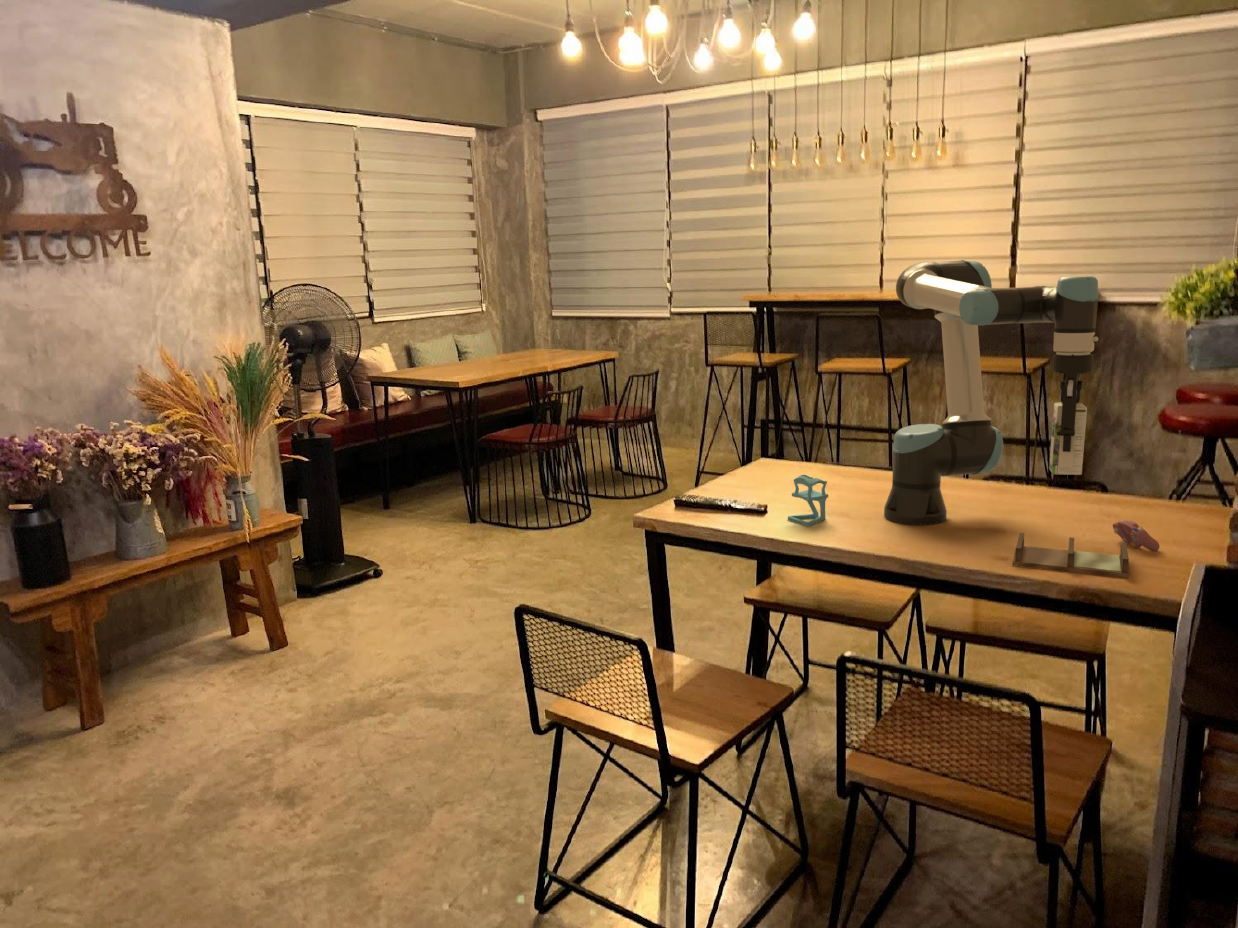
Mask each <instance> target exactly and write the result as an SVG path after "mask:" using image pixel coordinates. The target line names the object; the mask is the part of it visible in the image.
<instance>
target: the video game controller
mask: <svg viewBox="0 0 1238 928" xmlns="http://www.w3.org/2000/svg"><path fill="white" fill-rule="evenodd" d="M1112 527H1113V528H1112V529H1113V532H1114V534H1116V535H1118V536H1119V537H1120V538H1121V540H1122V542H1124V543H1127V545H1129V544H1131V545H1132V546H1133V548H1134V549H1139V548H1141V547H1143V548H1145V549H1147V550H1149V551H1152V552H1158V550H1159V549H1160V544H1159V542H1158V541H1157V540H1156V539H1155V538H1153V537H1152V536H1151V535H1150V534H1149V533H1148V531H1147V530H1146V529H1144V528H1143V526H1140V525H1139V524H1138V523H1136V522H1135V521H1132V520H1125V519H1124V518H1123V519H1121V520H1118V521H1116V522H1115V523H1113V524H1112Z"/></svg>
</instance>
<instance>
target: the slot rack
mask: <svg viewBox="0 0 1238 928" xmlns="http://www.w3.org/2000/svg"><path fill="white" fill-rule="evenodd" d="M1024 544H1025V532H1019V534H1018V538H1017V541H1016V545H1015V549H1014V554H1013V558H1012V561H1011V564H1012V565H1017V566H1016V567H1020V566H1022V567H1023V568H1029V567H1030V568H1032V569H1038V568H1041V569H1040V570H1047V569H1048V570H1049V571H1058V572H1067V573H1075V572H1076V574H1084V575H1085V574H1087V575H1095V576H1104V577H1110V578H1111V577H1114V578H1121V577H1122V578H1121V579H1130V578H1131V569H1130V562H1129V551H1128V544H1127V543H1125V542H1124V541H1122V542H1120V552H1119V554H1108V553H1099V552H1089V551H1080V550H1075V537H1069V539H1068V547H1067V548H1068V550H1067V549H1058V548H1057V549H1055V548H1050V547H1049V548H1047V547H1040V546H1039V547H1036V546H1028V545H1024ZM1012 565H1011V566H1012ZM1030 568H1029V569H1030Z"/></svg>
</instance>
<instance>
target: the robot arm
mask: <svg viewBox="0 0 1238 928" xmlns="http://www.w3.org/2000/svg"><path fill="white" fill-rule="evenodd" d="M895 291H896V292H895V293H896V296H897V298H898V300H899V301H900V302H901V303H902V305H905V306H906V307H909V308H912V309H916V310H924V309H926V310H928V309H929V310H930V309H931V310H933V312H934V318H935V319H936V320H937V321H939V322H940V323H941V336H942V338H941V339H942V350H943V363H944V365H943V366H944V376H945V377H944V379H945V392H946V405H947V417H946V418H945V419H944V421H942V424H941V425H939V424H936V423H925V424H924V423H920V424H912V425H908V426H904V427H902V428H900V429H898V430H897V431H896V432H895V433H894V435H893V436H894V437H893V445H892V477H891V478H892V483H891V485H892V486H891V488H890V492H889V494H888V497H887V499H886V502H885V505H884V509H883V510H884V511H883V516H884V518H885V519H887V520H889V521H891V522H894V523H898V524H904V525H914V526H928V525H937V524H941V523H943V522H945V521H947V507H946V504H945V499H944V497H943V494H942V490H941V483H942V481H941V478H942V476H943V477H946V476H962V475H978V474H983V473H990V472H991V471H993V470H994V469H996V467H997V466H998V465H999V463H1000V461H1001V459H1002V456H1003V451H1004V441H1003V435H1002V434H1001V430H999V428H997V427H996V426H992V419H991V418H990V417H989V416H988V415H987V414H986V413H985V409H984V407H985V406H984V394H983V382H982V368H981V367H982V365H981V354H980V353H981V352H980V341H979V340H980V339H979V338H980V337H979V326H980V327H981V326H984V327H985V326H990V325H1005V324H1033V323H1036V324H1037V323H1054V332H1053V348H1052V351H1053V352H1055V353H1054V354H1053V356H1052V367H1051V368H1052V369H1051V370H1052V372H1053V373H1056V374H1065V377H1064V380H1061V382H1060V391H1061V393H1060V402H1061V403H1063V404H1062V419H1061V430H1060V432H1057V436H1060V448H1059V464H1058V467H1073V460H1074V444H1075V436H1074V435H1075V417H1076V405H1077V404H1078V403H1080V400H1081V395H1082V394H1081V392H1082V390H1083V380H1080V379H1079V378H1080V377H1079V376H1080V375H1079V374H1082V375H1083V374H1091V373H1092V372H1093V370H1094V362H1095V361H1094V360H1095V359H1094V357H1095V356H1094V355H1093V354H1092V352H1093V351H1094V350H1095V342H1098V341H1099V337H1098V336H1095V335H1096V328H1097V325H1096V324H1097V314H1098V303H1099V297H1100V296H1099V280H1098V278H1097V277H1096V276H1064V277H1060V278H1059V279H1058V280H1057V285H1056V286H1047V285H1036V286H1029V287H1027V286H1026V287H1010V288H1009V287H1007V288H1000V287H999V288H993V286H992V279H991V276H990V274H989V272H988V269H987V268H986V266H984V265H983V264H982V263H981V262H980V261H976V260H965V259H961V260H945V261H922V262H917V263H915V264H912V265H910V266H909V267H907V268H906V269H904V270H903V271H902V272H901V273H900V274H899V276H898V279H897V281H896V285H895Z"/></svg>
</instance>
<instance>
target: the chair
mask: <svg viewBox="0 0 1238 928" xmlns="http://www.w3.org/2000/svg"><path fill="white" fill-rule="evenodd" d="M793 482H794V483H793V484H794V487H795V490H794V492H792V493H791V497H793V498H799V499H802V500H804V501H806V502H807V504H808V506H809V508H810V509H811V511H812V513H809V514H807V513H806V514H796V515H794V514H793V515H788V516H787V520H788V521H789V520H790V522H793V523H796V524H798V525H799V524H800V525H803V526H805V527H811V526H813V525H816V524H817V523H820V522H822V521H825V520H826V501H827V499H828V498H829V494H828V493H826V487H827V483H828V480H823V479H821V478H819V477H811V476H808V475H807V474H800V475H799V476H797V477H795V478H793ZM817 484H821V485H822V487H821V489H820V490H821V492H820V491H818V490H817V491H816V490H814V489H813V487H814V486H816V485H817ZM799 485H803V486H805V487H807V490H802V491H800V490H799V489H800V488H799ZM813 501H816V502H818V503H819V507H820V508H819V509H820V510H819V511H820V514H819V512H818V509H817V507H816V506H815V504H814V502H813ZM803 519H811V520H809V521H805V520H803Z"/></svg>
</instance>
